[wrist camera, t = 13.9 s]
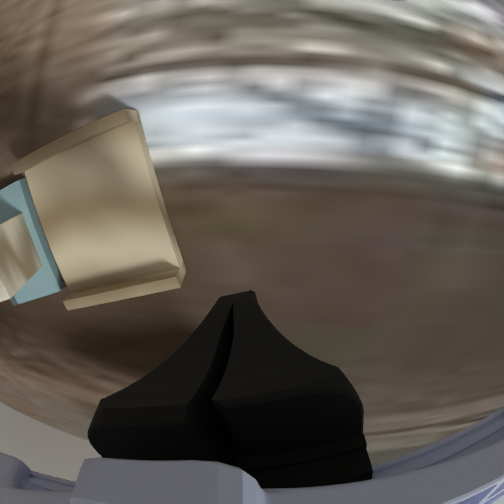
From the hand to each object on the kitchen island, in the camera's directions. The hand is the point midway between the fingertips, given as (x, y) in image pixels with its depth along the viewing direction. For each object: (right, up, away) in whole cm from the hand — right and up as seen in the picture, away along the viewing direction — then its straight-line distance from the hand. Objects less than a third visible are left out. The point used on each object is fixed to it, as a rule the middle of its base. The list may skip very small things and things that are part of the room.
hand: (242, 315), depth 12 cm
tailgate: (-16, +4, +8) cm, 18 cm away
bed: (-10, +5, +8) cm, 14 cm away
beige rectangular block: (-19, +3, +8) cm, 20 cm away
